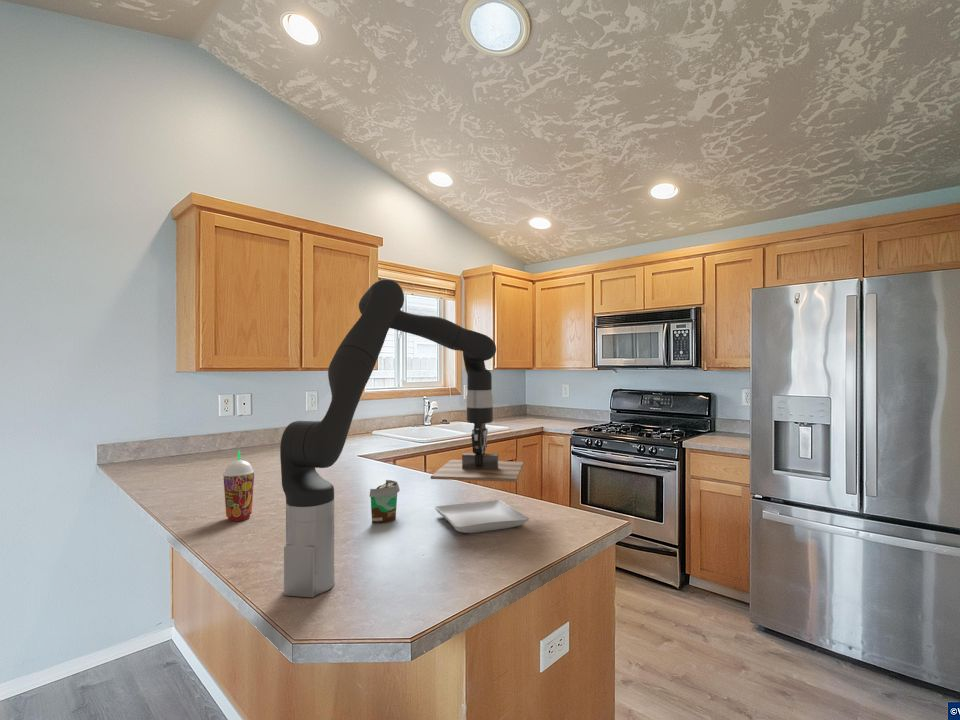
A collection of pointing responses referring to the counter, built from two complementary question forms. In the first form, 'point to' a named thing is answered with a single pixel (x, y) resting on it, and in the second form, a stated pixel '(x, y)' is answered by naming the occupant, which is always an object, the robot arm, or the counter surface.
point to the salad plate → (481, 516)
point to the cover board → (479, 469)
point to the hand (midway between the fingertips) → (480, 465)
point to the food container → (384, 502)
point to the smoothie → (238, 489)
